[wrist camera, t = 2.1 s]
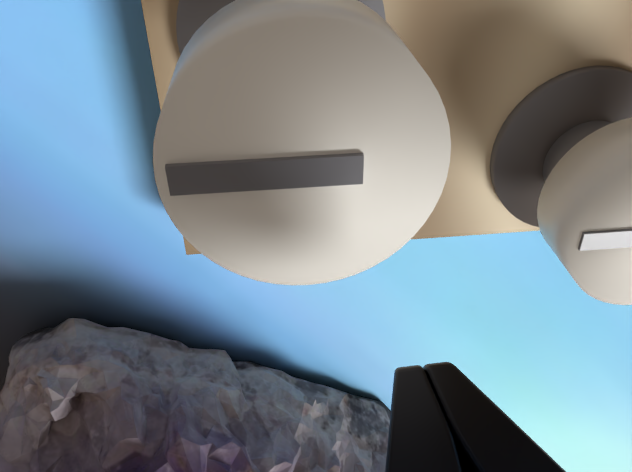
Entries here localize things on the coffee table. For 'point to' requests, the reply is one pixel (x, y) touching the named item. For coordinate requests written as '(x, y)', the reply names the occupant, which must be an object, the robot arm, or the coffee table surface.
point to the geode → (173, 410)
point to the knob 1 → (299, 141)
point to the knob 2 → (591, 207)
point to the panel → (480, 89)
